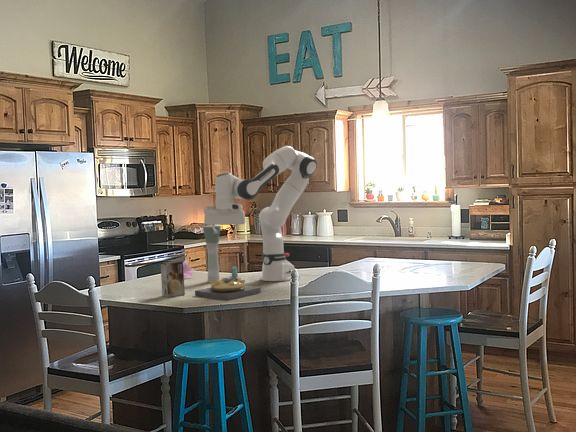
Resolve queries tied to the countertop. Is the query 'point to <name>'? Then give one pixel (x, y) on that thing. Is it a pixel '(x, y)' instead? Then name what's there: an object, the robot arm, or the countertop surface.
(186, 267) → the lily
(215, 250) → the container
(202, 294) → the dark grey square slab
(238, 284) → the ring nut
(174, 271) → the coffee box
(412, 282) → the countertop surface
